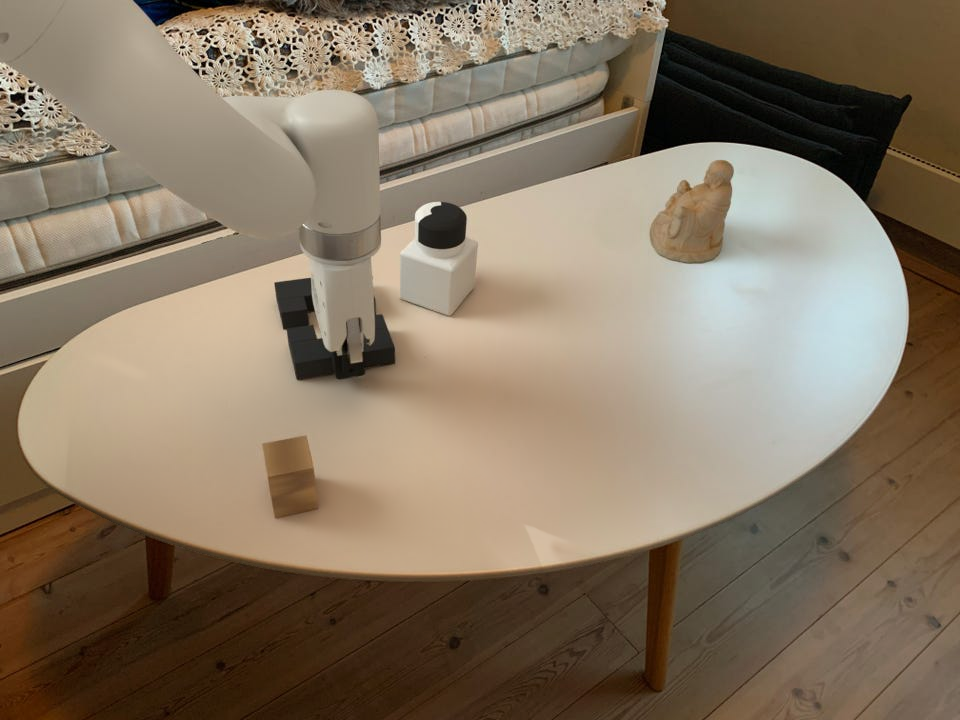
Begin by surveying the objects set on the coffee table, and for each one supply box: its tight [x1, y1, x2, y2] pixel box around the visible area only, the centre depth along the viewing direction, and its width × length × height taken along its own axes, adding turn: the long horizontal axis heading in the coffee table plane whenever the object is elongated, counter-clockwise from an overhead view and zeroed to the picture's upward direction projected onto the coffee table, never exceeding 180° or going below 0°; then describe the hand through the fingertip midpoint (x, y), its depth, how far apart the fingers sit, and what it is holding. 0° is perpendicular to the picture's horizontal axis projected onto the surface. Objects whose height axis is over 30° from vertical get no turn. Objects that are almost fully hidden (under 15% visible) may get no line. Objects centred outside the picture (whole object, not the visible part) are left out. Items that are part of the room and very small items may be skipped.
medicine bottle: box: [399, 201, 479, 317], centre depth 94 cm, size 7×7×12 cm
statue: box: [649, 159, 735, 264], centre depth 108 cm, size 12×14×10 cm
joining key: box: [261, 435, 319, 519], centre depth 71 cm, size 4×4×6 cm
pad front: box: [286, 314, 396, 381], centre depth 88 cm, size 11×6×2 cm, turn 109°
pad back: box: [273, 277, 377, 330], centre depth 94 cm, size 11×6×2 cm, turn 109°
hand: (349, 372), depth 84 cm, fingers closed
